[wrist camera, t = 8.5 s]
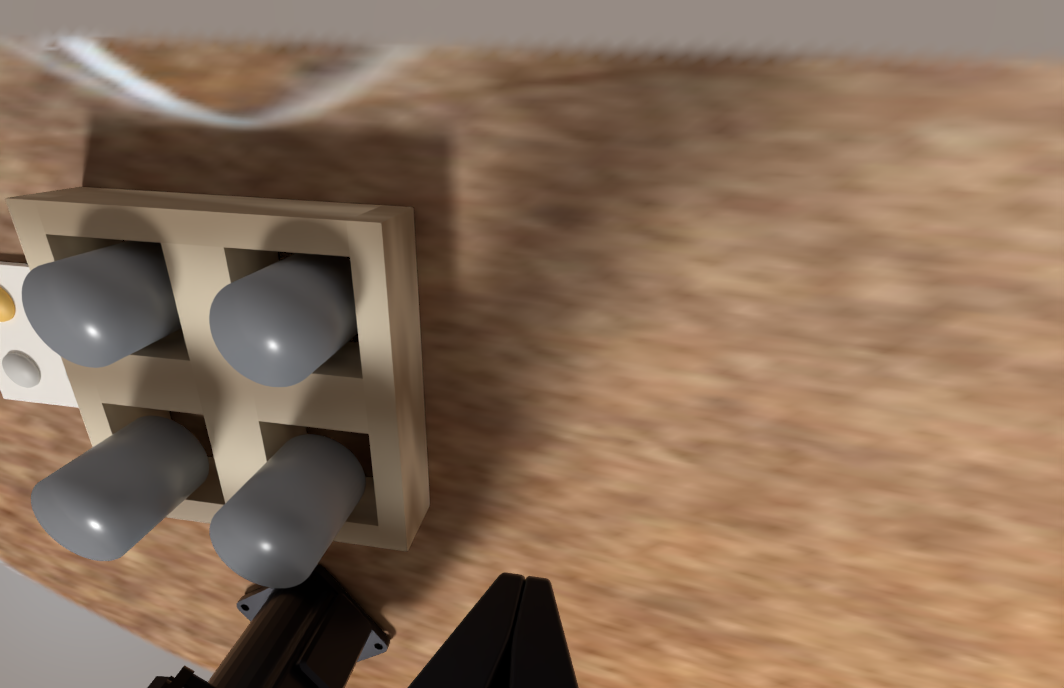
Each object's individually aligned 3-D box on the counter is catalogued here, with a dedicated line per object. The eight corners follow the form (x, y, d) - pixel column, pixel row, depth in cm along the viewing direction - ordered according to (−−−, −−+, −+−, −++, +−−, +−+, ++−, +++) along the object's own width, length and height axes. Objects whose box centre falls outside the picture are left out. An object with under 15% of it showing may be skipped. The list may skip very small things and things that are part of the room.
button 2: (217, 328, 23) (138, 372, 19) (135, 321, 23) (43, 362, 20) (197, 239, 21) (107, 267, 18) (110, 232, 22) (5, 259, 18)
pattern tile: (138, 409, 26) (128, 415, 26) (12, 394, 27) (0, 400, 27) (95, 269, 23) (83, 272, 23) (-44, 257, 24) (-58, 260, 24)
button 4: (217, 495, 24) (142, 567, 20) (138, 484, 24) (51, 553, 20) (198, 420, 22) (113, 484, 18) (115, 410, 23) (16, 470, 19)
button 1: (376, 344, 22) (326, 392, 18) (288, 335, 22) (221, 381, 19) (367, 251, 20) (311, 284, 17) (273, 244, 21) (197, 274, 17)
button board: (430, 504, 26) (407, 551, 23) (164, 470, 28) (114, 509, 25) (413, 207, 20) (381, 222, 18) (80, 186, 22) (4, 198, 19)
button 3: (369, 515, 23) (320, 595, 19) (285, 504, 23) (221, 580, 20) (360, 439, 21) (306, 510, 18) (271, 429, 22) (199, 495, 18)
